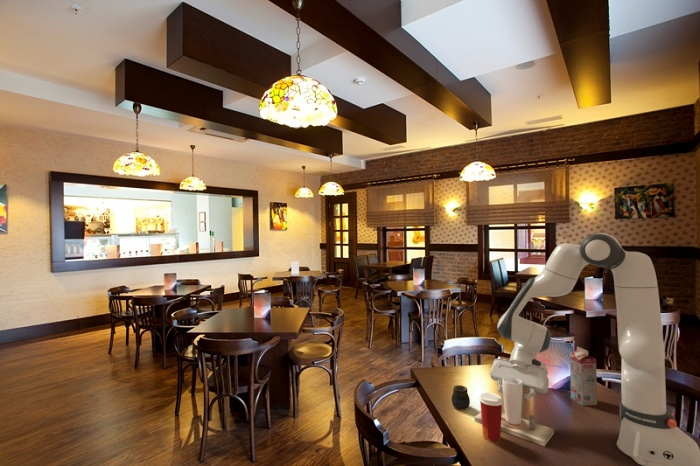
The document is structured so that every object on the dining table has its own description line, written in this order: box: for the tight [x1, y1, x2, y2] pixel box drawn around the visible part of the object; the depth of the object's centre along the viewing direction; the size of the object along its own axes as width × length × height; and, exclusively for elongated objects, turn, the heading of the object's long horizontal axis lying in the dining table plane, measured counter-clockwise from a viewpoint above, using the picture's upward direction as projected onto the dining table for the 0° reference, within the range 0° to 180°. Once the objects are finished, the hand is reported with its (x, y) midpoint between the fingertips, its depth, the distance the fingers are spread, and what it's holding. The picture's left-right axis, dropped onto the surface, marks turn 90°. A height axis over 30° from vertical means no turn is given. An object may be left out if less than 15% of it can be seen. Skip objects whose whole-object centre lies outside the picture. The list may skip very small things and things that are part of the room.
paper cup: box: [478, 392, 504, 443], centre depth 123 cm, size 8×8×14 cm
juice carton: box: [569, 346, 598, 406], centre depth 150 cm, size 7×7×22 cm
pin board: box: [474, 411, 555, 447], centre depth 130 cm, size 24×11×6 cm, turn 46°
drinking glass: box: [501, 377, 524, 425], centre depth 130 cm, size 7×7×15 cm
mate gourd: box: [451, 384, 471, 411], centre depth 145 cm, size 7×8×10 cm
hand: (513, 396), depth 131 cm, fingers open, 8 cm apart
